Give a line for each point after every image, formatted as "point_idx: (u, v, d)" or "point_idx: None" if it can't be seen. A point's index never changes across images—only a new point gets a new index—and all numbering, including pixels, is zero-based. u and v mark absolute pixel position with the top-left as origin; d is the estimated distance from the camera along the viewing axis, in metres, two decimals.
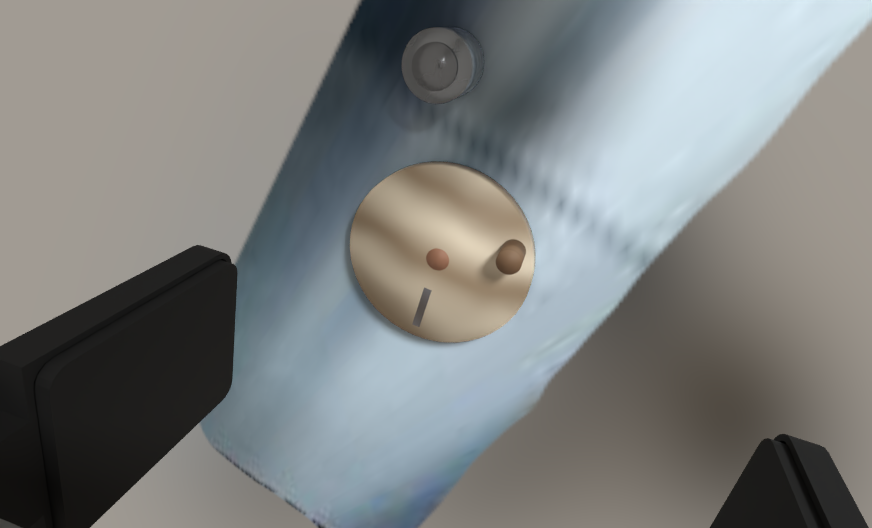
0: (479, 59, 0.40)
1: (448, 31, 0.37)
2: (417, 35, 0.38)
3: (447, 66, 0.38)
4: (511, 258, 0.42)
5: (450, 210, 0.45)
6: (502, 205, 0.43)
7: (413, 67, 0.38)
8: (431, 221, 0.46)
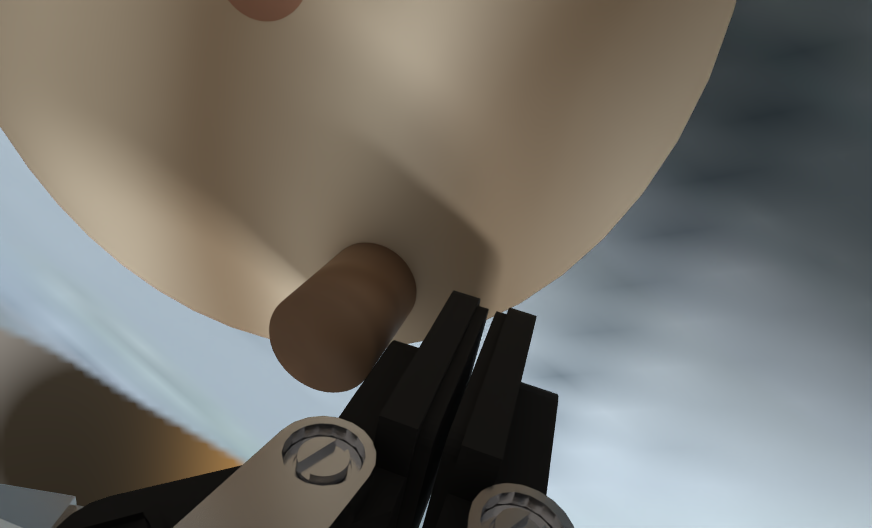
0: None
1: None
2: None
3: None
4: (341, 356, 0.10)
5: (505, 7, 0.09)
6: (548, 246, 0.11)
7: None
8: None
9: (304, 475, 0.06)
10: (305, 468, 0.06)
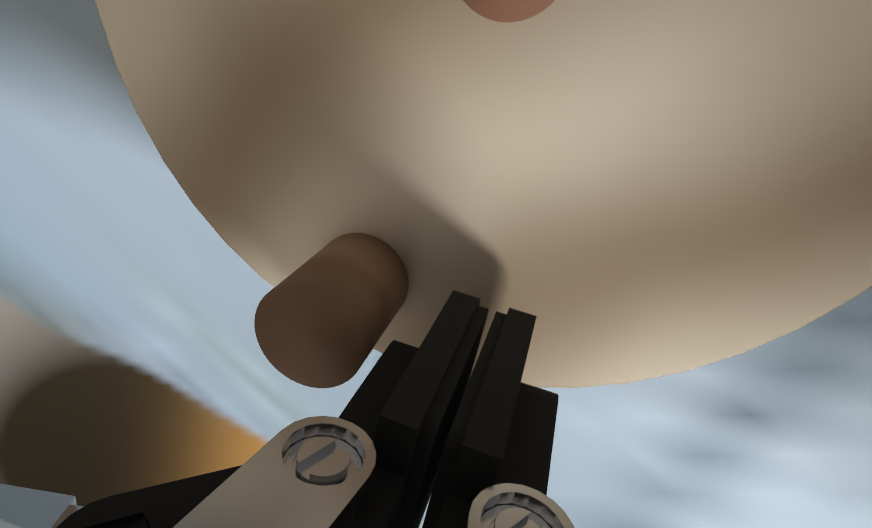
0: None
1: None
2: None
3: None
4: (319, 359, 0.09)
5: (664, 188, 0.09)
6: (531, 361, 0.11)
7: None
8: (695, 64, 0.09)
9: (304, 475, 0.06)
10: (305, 468, 0.06)
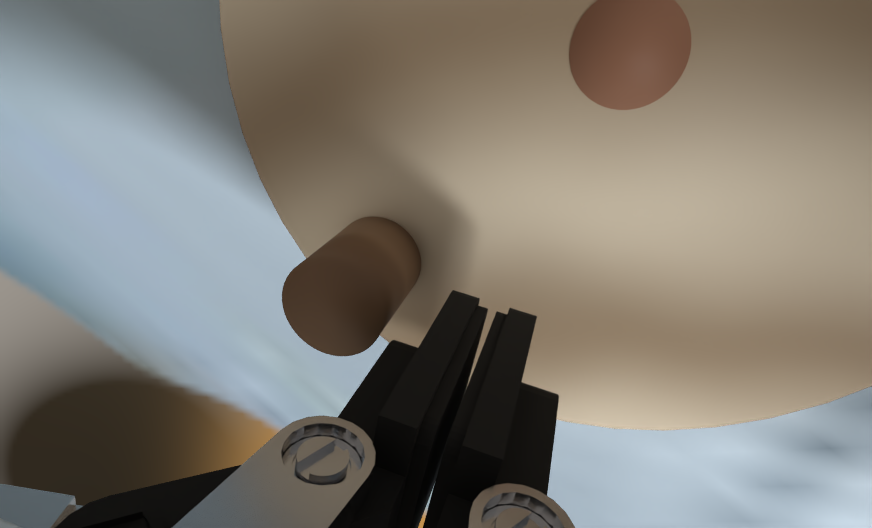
0: None
1: None
2: None
3: None
4: (333, 329, 0.10)
5: (664, 286, 0.11)
6: None
7: None
8: (731, 203, 0.10)
9: (304, 475, 0.06)
10: (305, 468, 0.06)
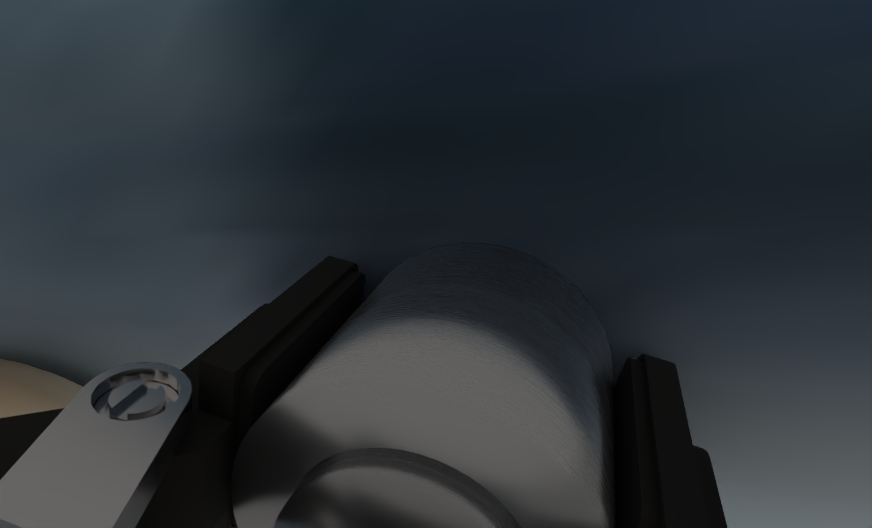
0: None
1: None
2: (462, 411, 0.06)
3: None
4: None
5: None
6: None
7: (309, 501, 0.06)
8: None
9: (121, 417, 0.06)
10: (120, 411, 0.06)
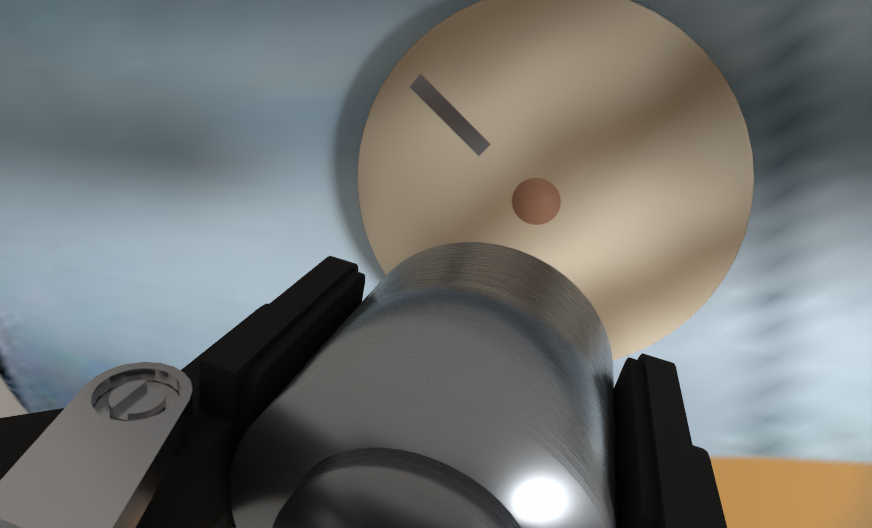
0: None
1: None
2: (462, 410, 0.06)
3: None
4: None
5: (616, 274, 0.23)
6: None
7: (308, 502, 0.06)
8: (614, 228, 0.23)
9: (121, 417, 0.06)
10: (121, 411, 0.06)
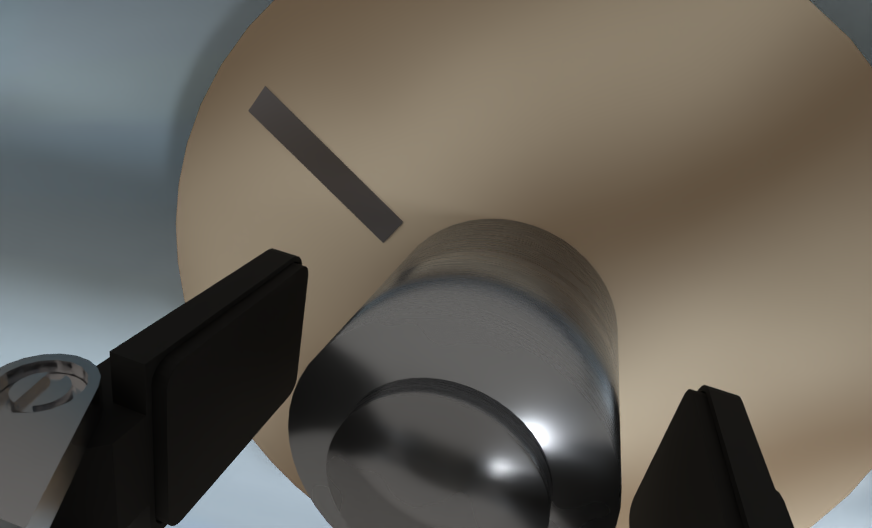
0: None
1: (610, 460, 0.07)
2: (492, 342, 0.07)
3: None
4: None
5: (642, 462, 0.12)
6: None
7: (362, 423, 0.08)
8: (640, 386, 0.12)
9: (26, 410, 0.06)
10: (24, 405, 0.06)
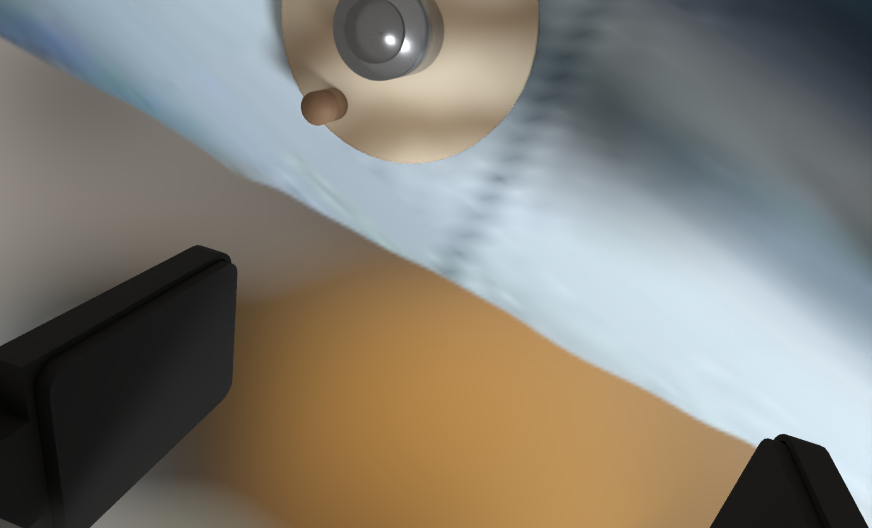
0: None
1: (418, 44, 0.29)
2: None
3: (376, 50, 0.29)
4: (316, 115, 0.34)
5: (422, 106, 0.35)
6: (375, 148, 0.36)
7: (367, 0, 0.28)
8: (436, 76, 0.34)
9: None
10: None
